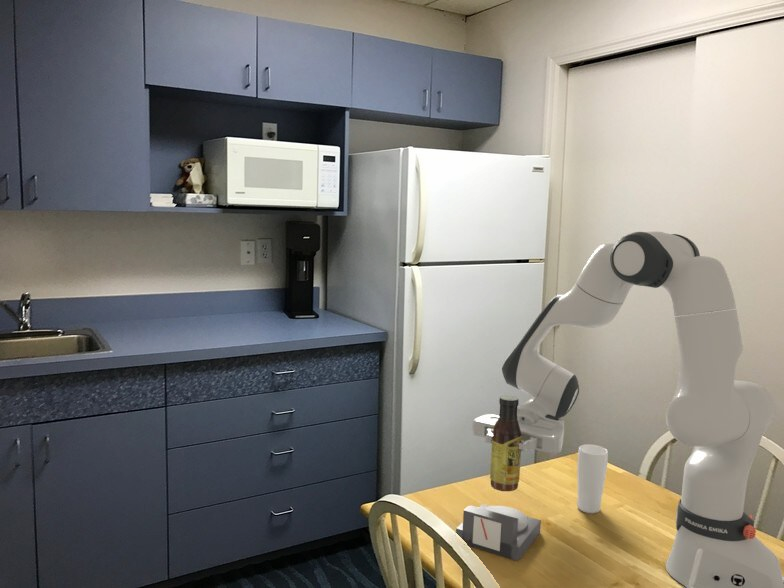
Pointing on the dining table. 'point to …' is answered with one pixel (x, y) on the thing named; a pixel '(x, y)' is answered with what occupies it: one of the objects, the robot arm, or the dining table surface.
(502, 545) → the kitchen scale
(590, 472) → the drinking glass
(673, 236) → the robot arm
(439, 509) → the dining table surface
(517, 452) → the sauce bottle
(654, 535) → the dining table surface
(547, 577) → the dining table surface
